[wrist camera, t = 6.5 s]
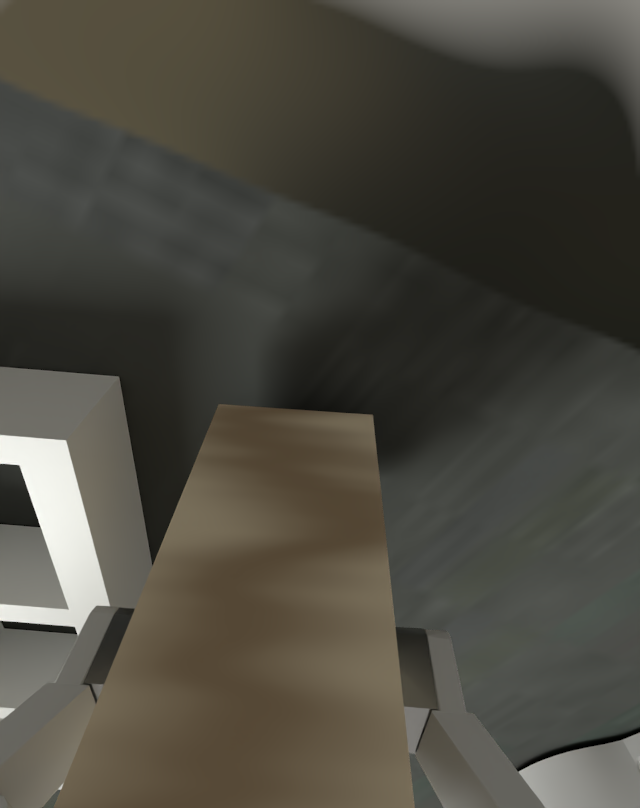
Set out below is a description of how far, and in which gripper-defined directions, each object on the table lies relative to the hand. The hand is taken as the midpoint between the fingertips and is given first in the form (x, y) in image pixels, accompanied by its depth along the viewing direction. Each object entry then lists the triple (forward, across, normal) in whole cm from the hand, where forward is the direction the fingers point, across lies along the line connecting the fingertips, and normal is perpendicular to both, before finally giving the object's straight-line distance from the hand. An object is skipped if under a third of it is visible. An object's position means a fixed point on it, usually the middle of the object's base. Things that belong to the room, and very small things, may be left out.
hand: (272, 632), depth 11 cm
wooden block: (+6, 0, 0) cm, 6 cm away
